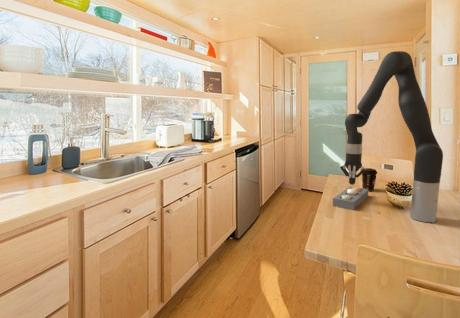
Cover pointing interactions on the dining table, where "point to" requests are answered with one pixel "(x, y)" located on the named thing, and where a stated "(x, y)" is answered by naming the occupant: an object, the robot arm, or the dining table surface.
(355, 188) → the terracotta button
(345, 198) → the sage button
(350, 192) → the offwhite button
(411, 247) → the dining table surface
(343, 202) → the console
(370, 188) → the coffee cup
